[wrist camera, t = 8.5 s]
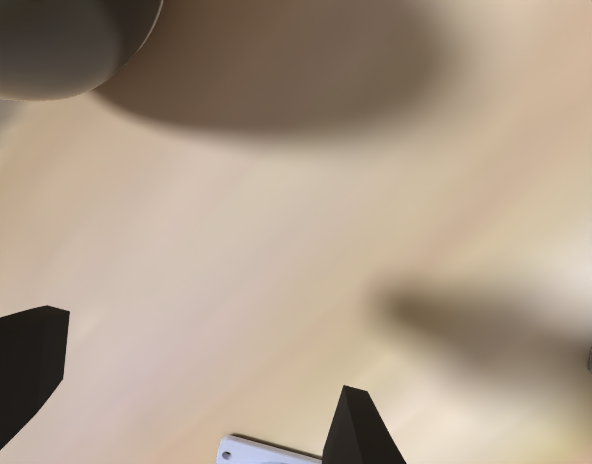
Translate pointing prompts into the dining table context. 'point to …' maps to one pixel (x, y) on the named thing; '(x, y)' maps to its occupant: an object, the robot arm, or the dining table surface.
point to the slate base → (590, 362)
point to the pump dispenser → (68, 44)
